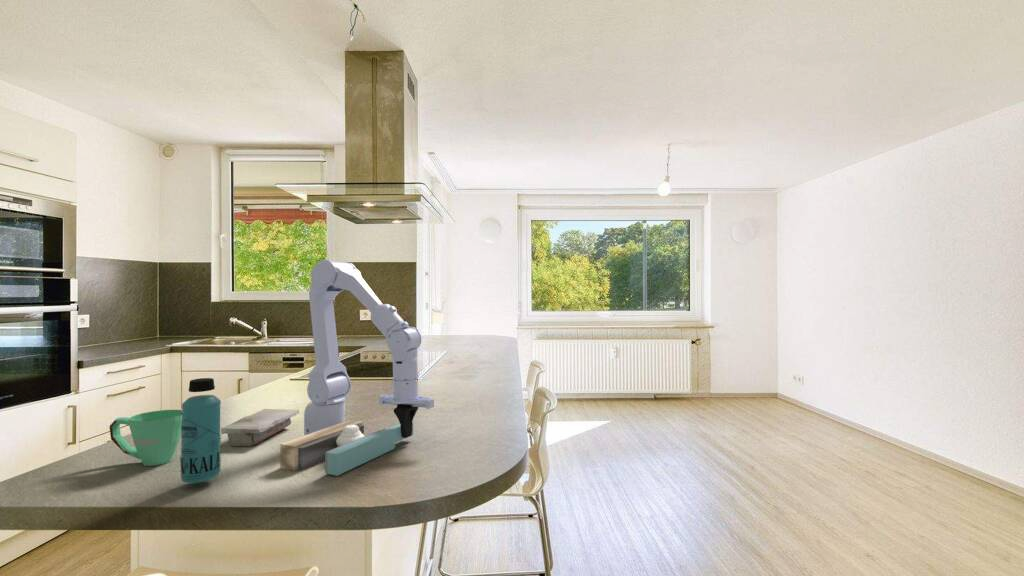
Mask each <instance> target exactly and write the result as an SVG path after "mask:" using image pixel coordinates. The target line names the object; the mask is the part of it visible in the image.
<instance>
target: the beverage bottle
mask: <svg viewBox="0 0 1024 576" xmlns="http://www.w3.org/2000/svg"><path fill="white" fill-rule="evenodd" d="M188 386H189V387H188V392H189V393H201V392H208V391H213V390H215V387H216V386H215V380H214V378H211V377H204V378H203V377H202V378H201V377H200V378H195V379H191V380H190V381H189V385H188ZM221 403H222V401H221V399H220V398H218V396H216V395H214V394H200V395H199V394H198V395H195V396H190V397H188V398H187V399H186V400H184V402H183V403H181V411H182V426H181V430H182V431H181V435H180V439H181V441H180V442H181V444H180V453H181V454H180V457H179V458H180V459H179V462H180V464H179V466H180V471H179V472H180V478H181V481H182V482H183V483H186V484H193V483H194V484H195V483H202V482H207V481H210V480H212V479H214V478H217V477H218V476H219V475H220V472H221V462H222V460H221V457H222V452H221V451H222V450H221V449H222V448H221V444H222V442H221V440H222V434H221Z"/></svg>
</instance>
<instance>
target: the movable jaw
mask: <svg viewBox="0 0 1024 576" xmlns="http://www.w3.org/2000/svg"><path fill="white" fill-rule="evenodd" d="M412 436H414V422H413V421H412ZM404 439H406V438H403V437H402V435H401V425H400V422H399V423H397V424H394V425H393V426H390V427H387V428H382V429H380V430H377V431H373V432H372V433H369V434H367V435H365V436H364V437H362V438H359V439H357V440H354V441H352V442H349V443H347V444H344V445H342V446H340V447H337V448H335V449H332V450H330V451H327V452H325V461H324V467H325V468H324V473H325V474H327V475H331V476H336V477H337V476H340V475H342V474H344V473H345V472H348V471H351V470H353V469H354V468H357V467H359V466H360V465H363V464H366V463H367V462H369V461H372V460H373V459H375V458H377V457H380V456H382V455H384V454H386V453H388V452H391V451H392V450H394V449H396V443H399V442H400V441H403V440H404Z"/></svg>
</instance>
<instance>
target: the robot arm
mask: <svg viewBox="0 0 1024 576" xmlns="http://www.w3.org/2000/svg"><path fill="white" fill-rule="evenodd" d="M310 277H311V278H310V279H311V283H310V284H311V285H310V288H309V292H308V299H309V307H310V309H309V310H310V318H311V328H312V337H313V347H314V357H315V365H314V367H313V368H312V369H311V370H310V372H309V373H308V384H307V388H306V392H307V396H308V399H309V400H310V402H308V403H307V405H306V407H305V409H304V413H303V419H304V420H303V423H304V425H303V426H304V427H303V428H304V430H303V434H304V435H303V436H305V435H308V434H311V433H313V432H316V431H319V430H322V429H325V428H328V427H331V426H334V425H337V424H340V423H343V422H345V421H346V399H347V395H348V394H349V393H350V391H351V389H352V381H351V378H350V376H349V374H348V371H347V367H346V366H345V365H344V364H343V363H342V362H341V361H340V355H339V345H338V335H337V325H336V314H335V306H334V299H336V297H337V296H338V295H339V294H340V293H341V292H343V291H349V292H350V293H351V294H352V295H353V296H354V297H356V299H357V300H358V301H359V302H360V303H361V304H362V305H363V306H364V307H365V308H366V309H367V310H368V311H369V312H370V321H371V322H372V323H373V324H374V326H375V327H376V329H378V330H379V331H380V333H381V334H382V335H383V336H384V337H385V338H386V340H387V341H386V344H387V347H388V350H389V351H390V352H391V359H392V394H381V395H379V396H378V404H379V405H393V406H394V405H395V406H396V407H395V408H393V413H394V415H395V417H397V420H398V422H399V423H400V425H401V435H402V437H403V438H405V439H407V438H409V437H412V436H413V435H412V422H413V421H414V418H415V416H416V413H417V412H418V410H419V408H424V409H426V410H430V409H432V408H435V399H434V398H431V397H426V396H421V395H419V378H418V376H419V375H418V373H419V371H418V348H420V347H421V344H422V336H421V333H420V331H419V329H418V328H416V327H415V326H409V325H410V324H409V323H408V322H407V321H404V319H403V318H402V317H401V315H399V314H398V312H397V308H396V307H395V306H394V305H391V304H389V303H382V301H381V299H379V297H378V296H377V295H376V294H375V292H374V291H373V289H372V288H371V287H370V286H369V284H368V283H367V282H366V280H365V279H364V278H363V276H362V272H361V271H360V270H359V269H358V268H357V267H356V266H355V265H354V264H353V263H352V262H350V261H335V260H334V261H333V260H328V259H322V260H320V261H318V262H317V263H316V264H315V265H314V266H313V267H312V269H311V270H310Z"/></svg>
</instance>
